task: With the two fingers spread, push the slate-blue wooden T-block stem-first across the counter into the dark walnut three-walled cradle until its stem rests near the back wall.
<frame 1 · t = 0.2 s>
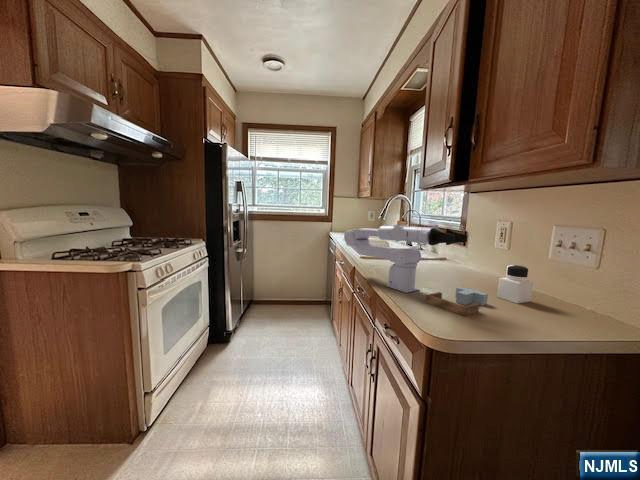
hand: (460, 238, 86), 21 cm above the worktop, tool horizontal, fingers open, 7 cm apart
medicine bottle: (513, 300, 96), on the worktop
walnut cradle: (450, 307, 86), on the worktop
t block: (468, 301, 92), on the worktop
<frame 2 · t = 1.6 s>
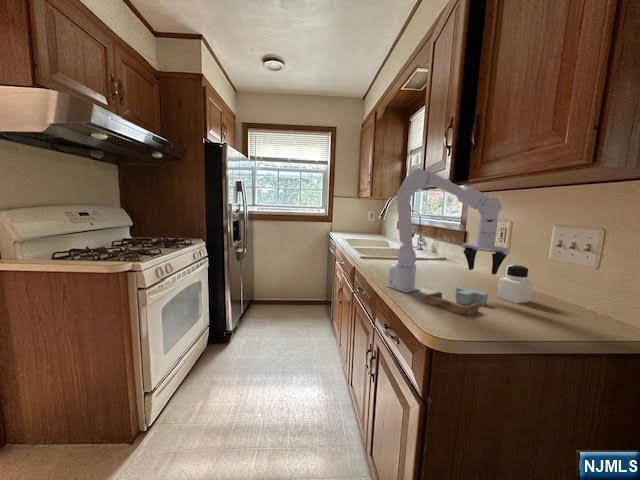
hand: (482, 271, 95), 9 cm above the worktop, tool pointing down, fingers open, 7 cm apart
nothing on the worktop moved.
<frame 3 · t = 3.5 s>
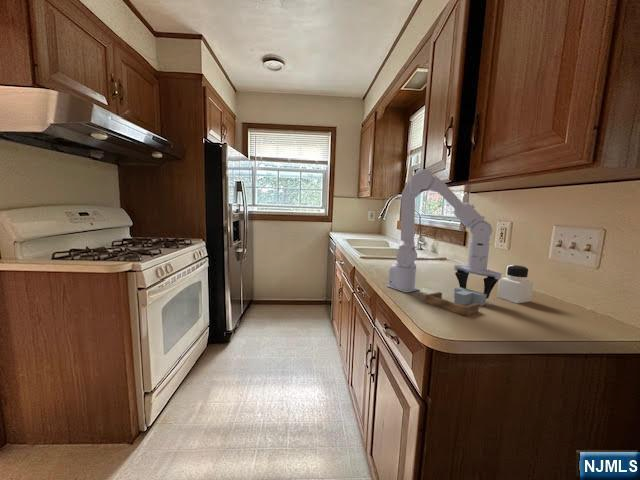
hand: (474, 295, 94), 2 cm above the worktop, tool pointing down, fingers open, 7 cm apart
t block: (466, 301, 91), on the worktop, touching gripper
everything else where it was.
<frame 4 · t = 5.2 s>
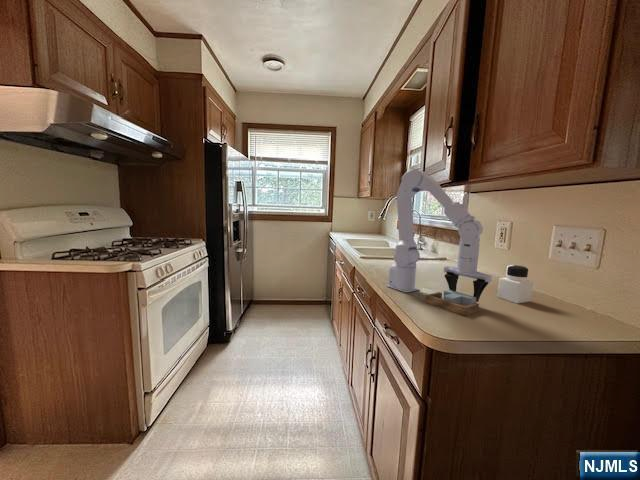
hand: (463, 298, 90), 2 cm above the worktop, tool pointing down
t block: (456, 305, 87), on the worktop, touching gripper
everything else where it was.
when the fingers open (2 cm above the worktop, at t = 5.5 s): t block stays where it is, on the worktop.
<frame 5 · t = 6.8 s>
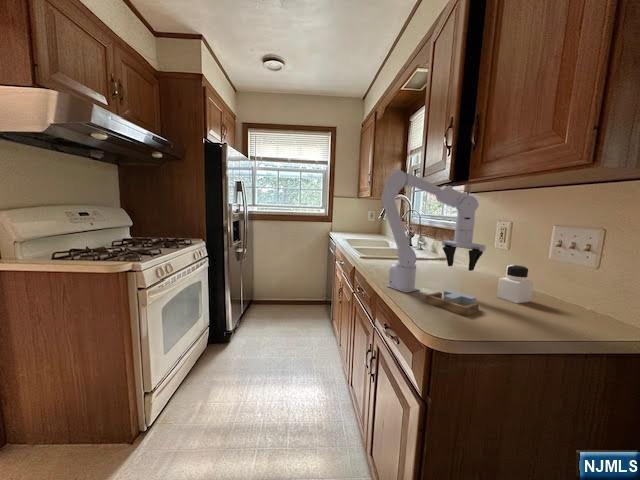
hand: (460, 268, 98), 10 cm above the worktop, tool pointing down, fingers open, 7 cm apart
t block: (456, 305, 87), on the worktop
everything else where it was.
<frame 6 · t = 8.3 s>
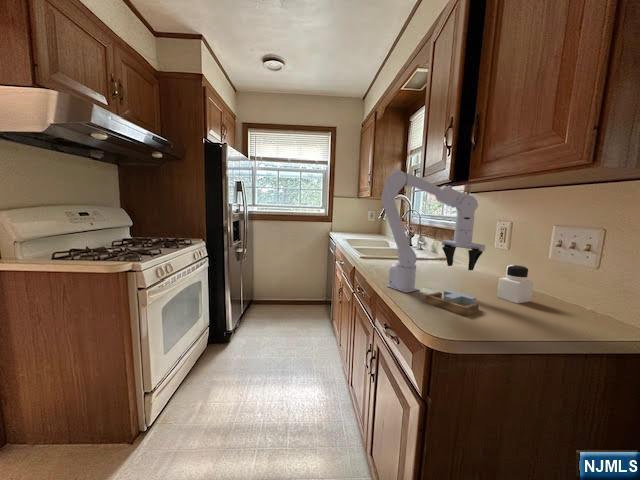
hand: (460, 267, 98), 10 cm above the worktop, tool pointing down, fingers open, 7 cm apart
nothing on the worktop moved.
at the end: t block 0.7 cm from the target spot, on the worktop; t block moved 7.7 cm from its start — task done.
